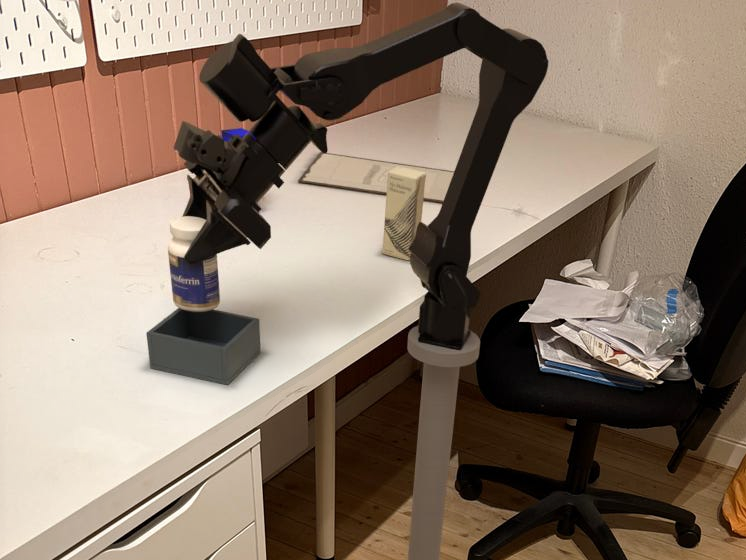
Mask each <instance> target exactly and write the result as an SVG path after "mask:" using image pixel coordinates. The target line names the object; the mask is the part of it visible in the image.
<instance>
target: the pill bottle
mask: <svg viewBox="0 0 746 560" xmlns="http://www.w3.org/2000/svg"><path fill="white" fill-rule="evenodd" d="M182 216H183V215H182ZM182 216H177V217H173V218H172V219H171V220H170V221H169V232H170V234H171V236H172V239H170V240H169V241H168V243H167V255H168V256H167V257H168V264H169V265H168V266H169V275H170V284H171V285H170V286H171V293H172V294H171V295H172V301H173V305H175V306H176V307H177V309H178V308H180V309H183V310H186V311H191V312H206V311H210V310H213V309H214V310H216V309H217V308H218V307H219V306H220V303H221V292H220V279H219V266H218V254H216V255H213V256H211V257H208V258H206V259H203V260H201V261H198V262H196V263H193V264H189V263H188V262H187V261H186V260H185V259H184V255H185V254H186V252H187V250H188V248H189V247H190V245H191V244H192V242H193V240H194V239H195V237H196V236H197V234H198V233H199V231H200V230H201V228H202V226H203V225H204V223H205V222H206V220H205V219H202V218H199V217H192V216H183V217H182Z"/></svg>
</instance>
